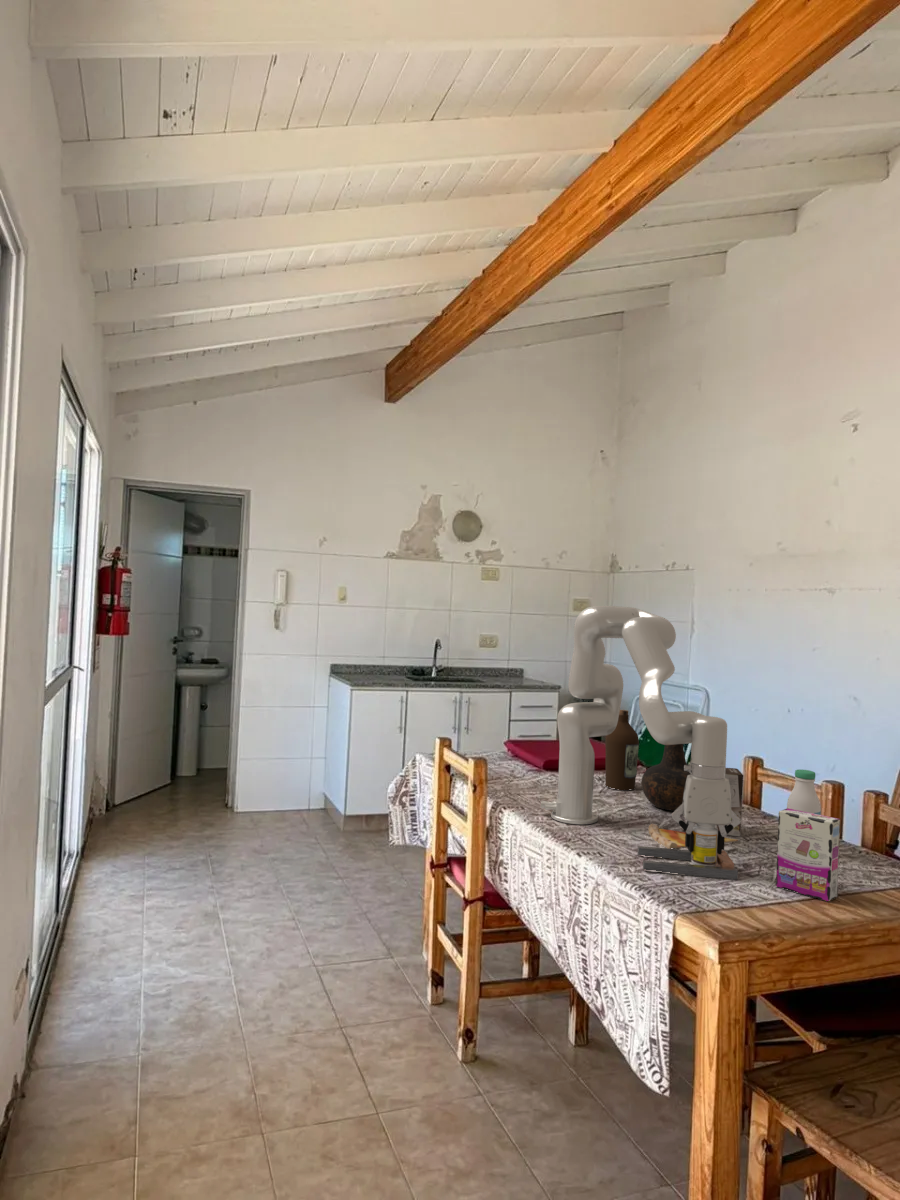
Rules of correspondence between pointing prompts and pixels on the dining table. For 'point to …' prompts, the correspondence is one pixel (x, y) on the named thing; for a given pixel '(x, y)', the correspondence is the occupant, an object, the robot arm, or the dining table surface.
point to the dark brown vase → (666, 779)
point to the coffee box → (735, 796)
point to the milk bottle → (804, 793)
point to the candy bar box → (808, 853)
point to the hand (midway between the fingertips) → (704, 850)
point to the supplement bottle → (704, 845)
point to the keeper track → (720, 871)
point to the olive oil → (621, 755)
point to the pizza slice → (671, 837)
